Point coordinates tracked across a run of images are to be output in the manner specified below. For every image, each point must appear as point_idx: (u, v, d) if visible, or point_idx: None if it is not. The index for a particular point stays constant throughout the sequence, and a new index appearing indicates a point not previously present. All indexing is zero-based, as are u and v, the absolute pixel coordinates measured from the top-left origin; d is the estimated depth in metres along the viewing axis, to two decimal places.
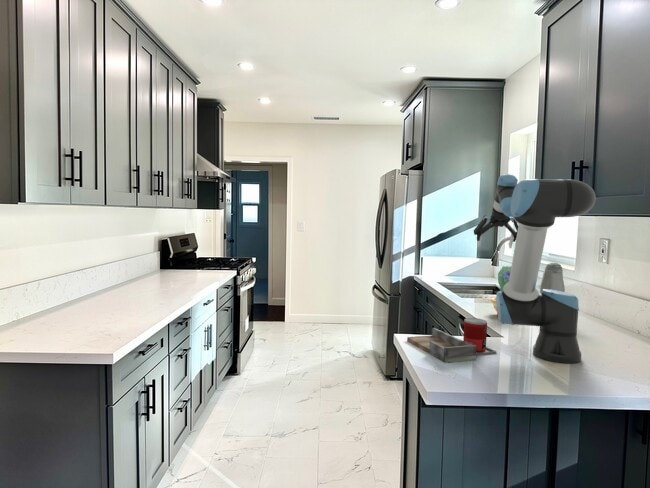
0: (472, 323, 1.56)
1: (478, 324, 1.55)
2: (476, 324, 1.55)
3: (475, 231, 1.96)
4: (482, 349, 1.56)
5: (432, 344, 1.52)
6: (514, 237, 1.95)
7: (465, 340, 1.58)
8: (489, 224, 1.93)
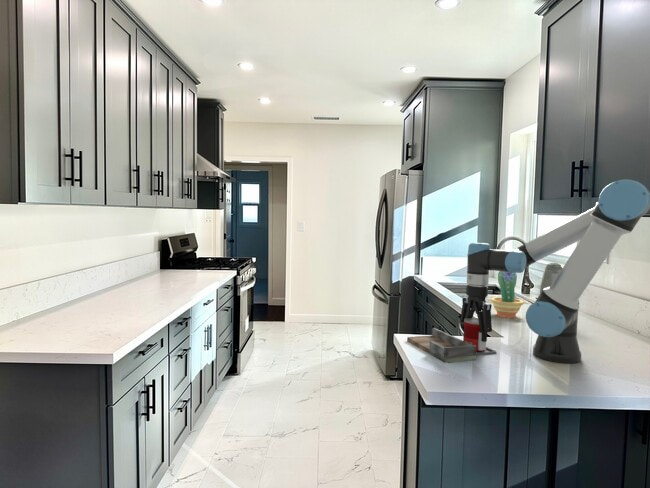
0: (472, 323, 1.56)
1: (478, 324, 1.55)
2: (476, 324, 1.55)
3: (491, 327, 1.52)
4: None
5: (432, 344, 1.52)
6: None
7: (465, 340, 1.58)
8: (482, 312, 1.55)
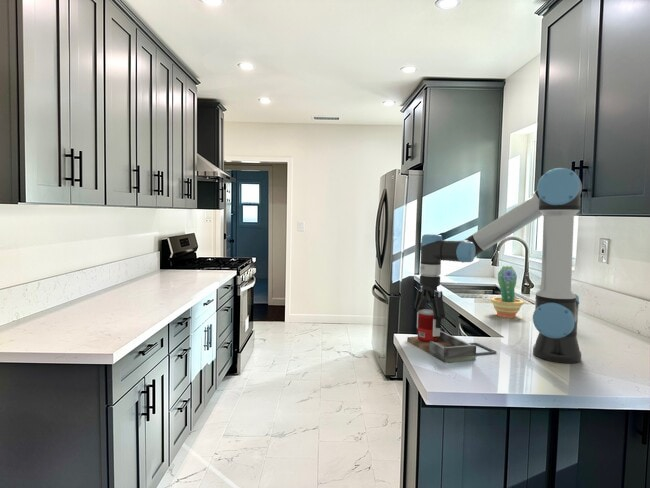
0: (425, 314, 1.62)
1: (430, 315, 1.61)
2: (428, 315, 1.61)
3: (444, 313, 1.57)
4: (434, 339, 1.62)
5: (432, 344, 1.52)
6: None
7: (419, 330, 1.65)
8: (435, 300, 1.61)
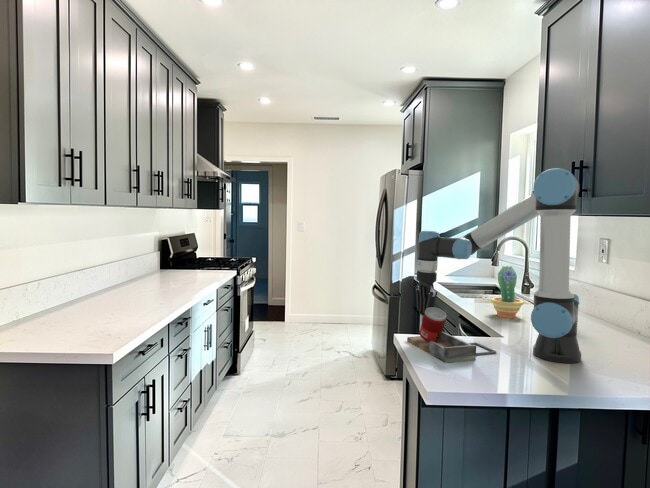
0: (431, 318, 1.57)
1: (436, 320, 1.56)
2: (435, 320, 1.57)
3: None
4: (436, 340, 1.61)
5: (432, 344, 1.52)
6: None
7: (422, 329, 1.62)
8: (428, 297, 1.66)
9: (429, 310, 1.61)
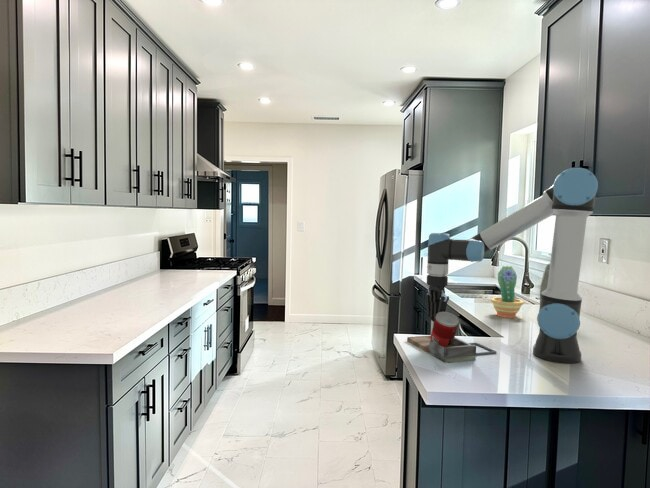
0: (442, 324, 1.49)
1: (448, 326, 1.49)
2: (446, 326, 1.49)
3: None
4: (448, 346, 1.54)
5: (432, 344, 1.52)
6: None
7: (433, 334, 1.55)
8: (439, 302, 1.59)
9: (440, 315, 1.54)
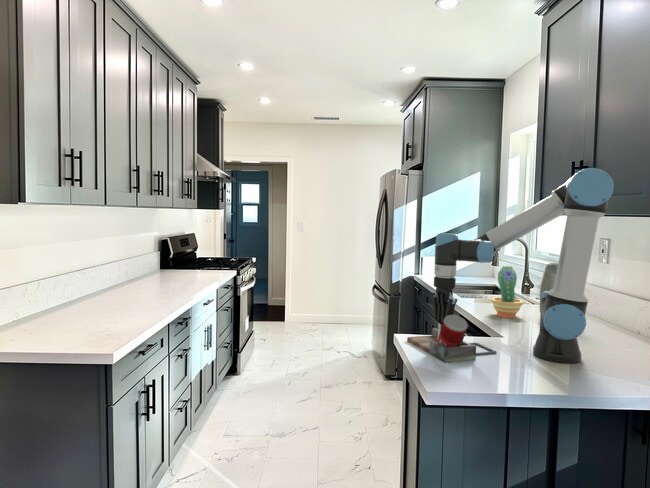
0: (450, 328, 1.44)
1: (456, 331, 1.44)
2: (454, 330, 1.44)
3: None
4: None
5: (432, 344, 1.52)
6: None
7: (440, 338, 1.50)
8: (447, 304, 1.54)
9: (448, 318, 1.48)
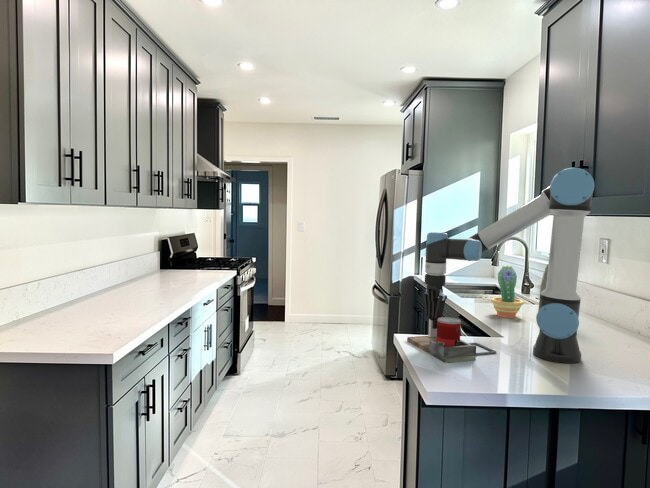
0: (444, 322, 1.50)
1: (450, 323, 1.49)
2: (448, 323, 1.49)
3: (441, 316, 1.58)
4: None
5: (432, 344, 1.52)
6: None
7: (438, 340, 1.52)
8: (437, 301, 1.60)
9: (442, 319, 1.54)
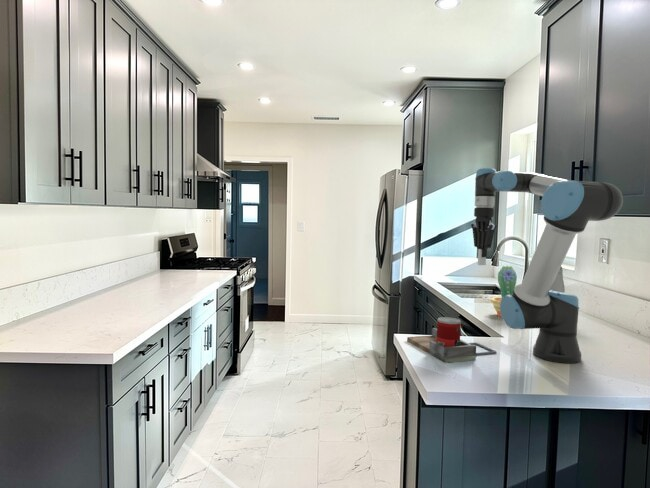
0: (444, 322, 1.50)
1: (450, 323, 1.49)
2: (448, 323, 1.49)
3: (490, 244, 1.73)
4: None
5: (432, 344, 1.52)
6: None
7: (438, 340, 1.52)
8: (486, 231, 1.74)
9: (442, 319, 1.54)
